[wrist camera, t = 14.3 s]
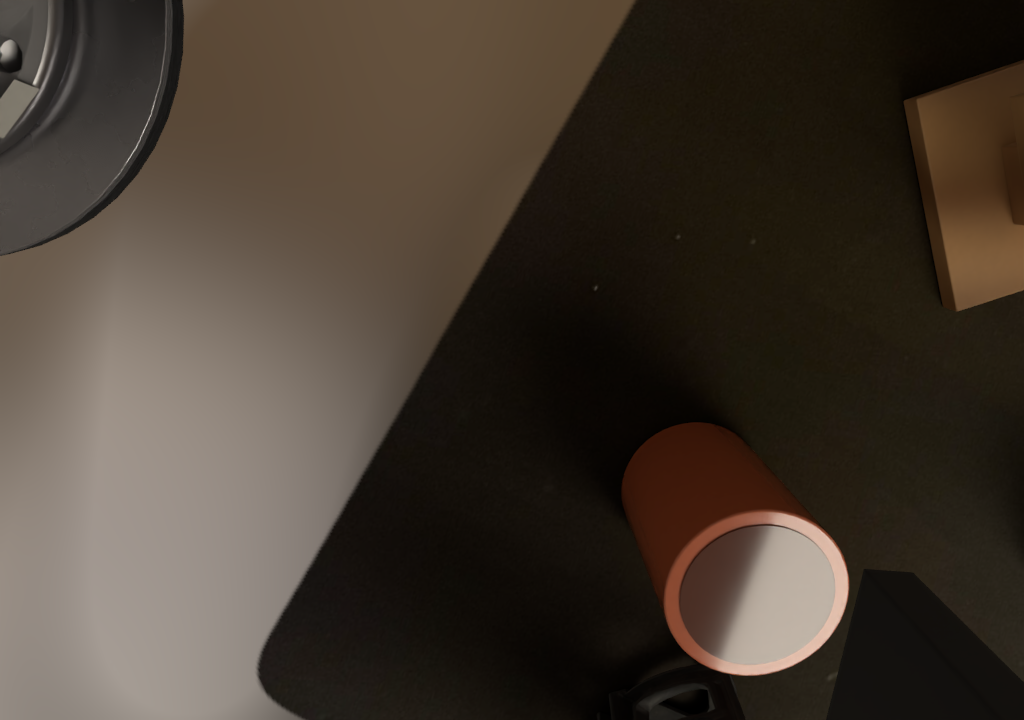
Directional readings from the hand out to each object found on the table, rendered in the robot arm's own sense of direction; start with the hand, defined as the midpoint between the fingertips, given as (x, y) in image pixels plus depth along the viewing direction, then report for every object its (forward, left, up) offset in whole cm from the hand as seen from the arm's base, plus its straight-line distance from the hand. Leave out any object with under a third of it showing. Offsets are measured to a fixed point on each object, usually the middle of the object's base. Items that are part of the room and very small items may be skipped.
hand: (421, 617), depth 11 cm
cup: (+13, +8, -26) cm, 30 cm away
